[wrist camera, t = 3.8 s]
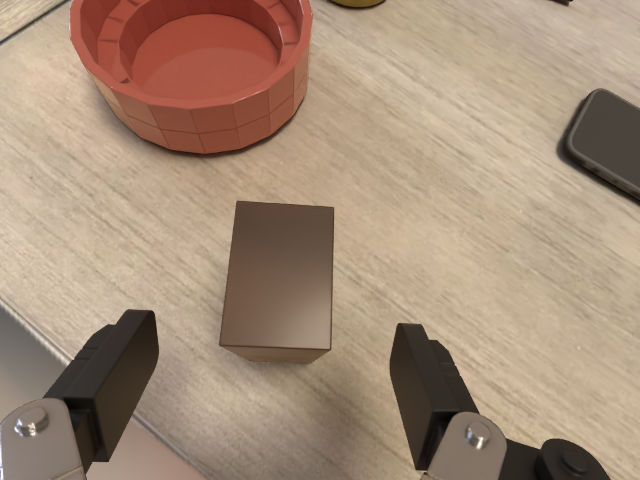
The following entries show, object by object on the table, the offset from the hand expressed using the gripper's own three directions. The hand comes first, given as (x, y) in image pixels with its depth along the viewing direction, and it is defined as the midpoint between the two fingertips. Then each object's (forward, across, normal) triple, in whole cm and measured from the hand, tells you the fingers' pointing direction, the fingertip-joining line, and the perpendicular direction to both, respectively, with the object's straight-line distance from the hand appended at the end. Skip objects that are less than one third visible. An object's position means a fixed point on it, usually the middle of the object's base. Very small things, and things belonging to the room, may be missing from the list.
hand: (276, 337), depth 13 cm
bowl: (+20, +6, -7) cm, 22 cm away
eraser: (+8, 0, +5) cm, 9 cm away
